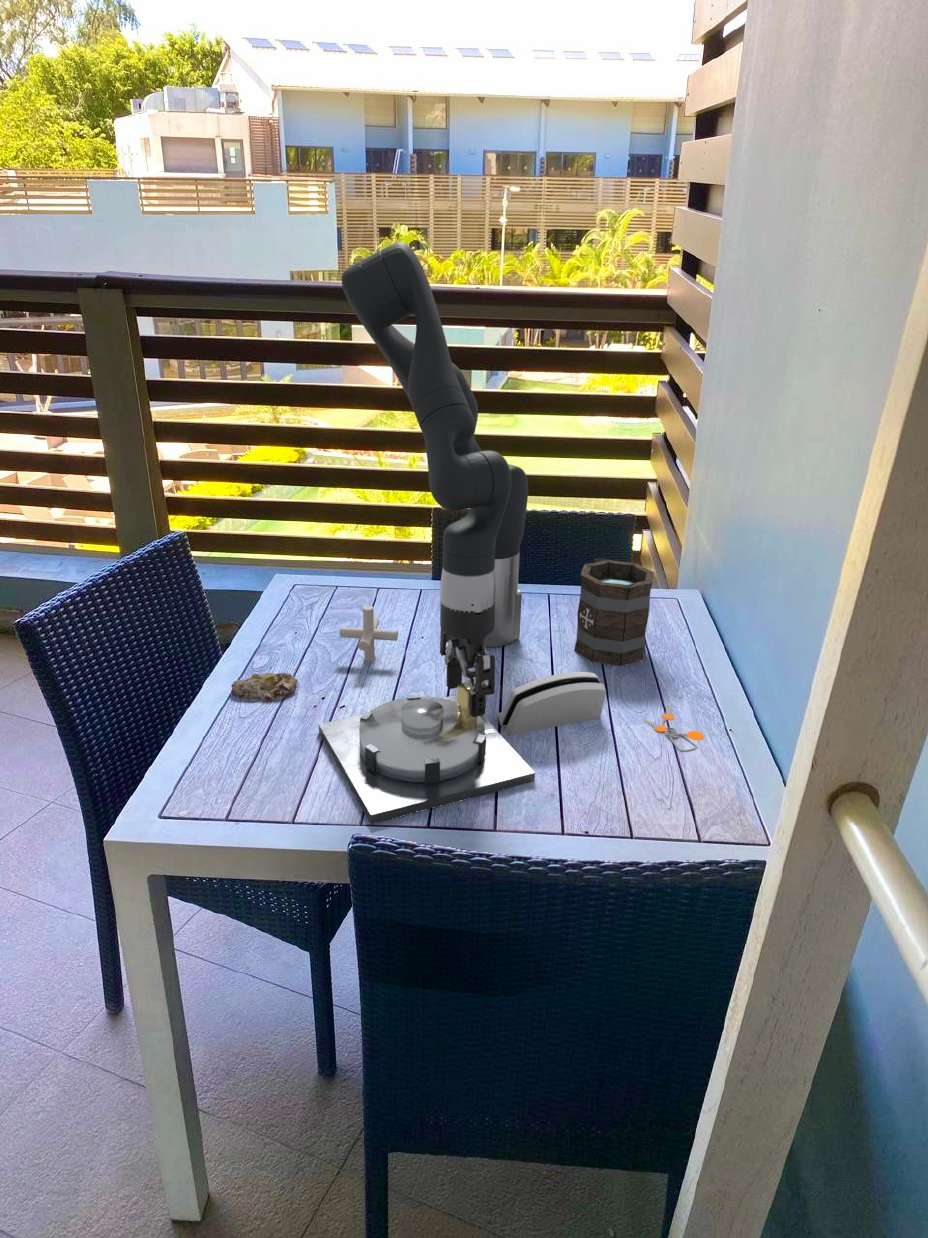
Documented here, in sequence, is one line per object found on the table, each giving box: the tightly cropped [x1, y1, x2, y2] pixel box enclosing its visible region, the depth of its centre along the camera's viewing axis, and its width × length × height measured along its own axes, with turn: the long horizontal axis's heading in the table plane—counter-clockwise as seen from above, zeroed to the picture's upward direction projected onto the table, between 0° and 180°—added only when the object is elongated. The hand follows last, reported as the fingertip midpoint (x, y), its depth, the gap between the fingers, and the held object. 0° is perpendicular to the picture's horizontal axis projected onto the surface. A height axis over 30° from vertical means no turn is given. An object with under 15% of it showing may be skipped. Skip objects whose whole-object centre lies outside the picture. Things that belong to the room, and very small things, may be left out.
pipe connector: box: [339, 605, 399, 662], centre depth 151 cm, size 10×10×10 cm
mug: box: [573, 557, 655, 667], centre depth 159 cm, size 20×14×15 cm
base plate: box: [318, 694, 536, 825], centre depth 125 cm, size 24×24×2 cm
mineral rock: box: [231, 672, 298, 702], centre depth 142 cm, size 11×4×8 cm
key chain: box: [642, 705, 705, 753], centre depth 134 cm, size 13×7×1 cm, turn 19°
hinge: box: [495, 671, 607, 738], centre depth 133 cm, size 17×5×10 cm, turn 113°
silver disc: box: [359, 682, 486, 784], centre depth 123 cm, size 18×19×9 cm
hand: (465, 700), depth 125 cm, fingers open, 8 cm apart
